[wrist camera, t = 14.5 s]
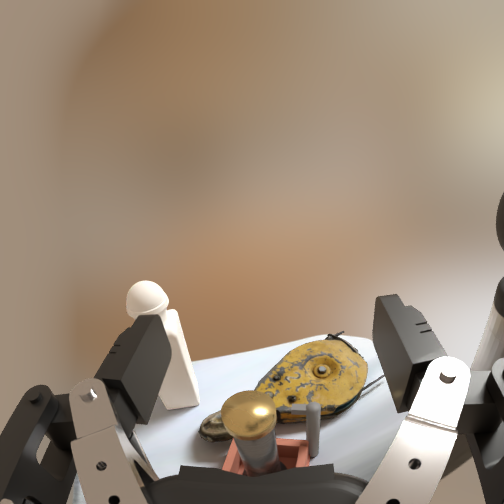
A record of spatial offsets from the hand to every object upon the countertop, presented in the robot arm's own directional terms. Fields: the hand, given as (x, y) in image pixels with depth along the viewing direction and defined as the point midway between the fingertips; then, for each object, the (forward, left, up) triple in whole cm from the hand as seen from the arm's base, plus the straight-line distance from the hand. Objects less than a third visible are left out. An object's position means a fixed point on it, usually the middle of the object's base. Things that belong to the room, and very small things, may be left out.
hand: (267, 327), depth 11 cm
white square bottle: (+22, -20, -32) cm, 44 cm away
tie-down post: (+5, -7, -31) cm, 32 cm away
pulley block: (+4, -22, -32) cm, 39 cm away
